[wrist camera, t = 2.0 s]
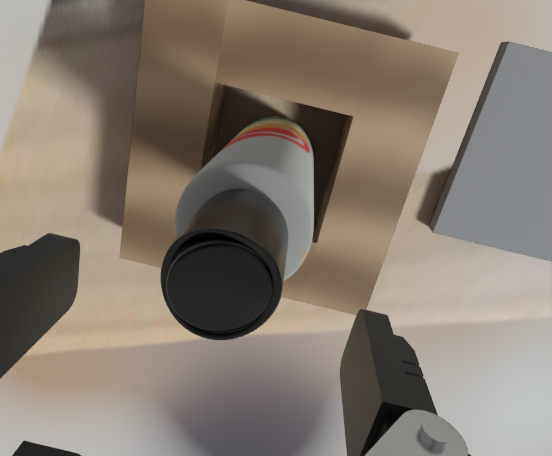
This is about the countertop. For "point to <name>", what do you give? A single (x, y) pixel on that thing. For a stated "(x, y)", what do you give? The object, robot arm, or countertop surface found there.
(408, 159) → the block
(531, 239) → the rubber mat
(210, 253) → the lotion bottle
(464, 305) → the countertop surface
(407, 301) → the countertop surface
